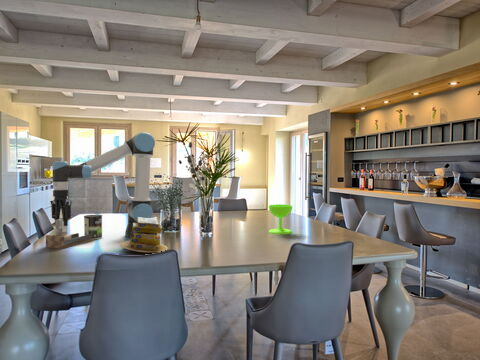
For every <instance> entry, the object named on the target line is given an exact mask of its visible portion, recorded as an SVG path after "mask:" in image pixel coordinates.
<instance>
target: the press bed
mask: <svg viewBox="0 0 480 360" xmlns="http://www.w3.org/2000/svg"><path fill="white" fill-rule="evenodd" d="M70 235H72V239H67V240H64V236H56V234H55V235H53V234H46V235H45V248H50V249H51V248H52V249H57V250H58V249H59V250H60V249H61V250H64V249H67V248H71V247H75V246H79V245H83V244H86V243H90V242H93V240H92V234H89V235H85V236H84V235H80V234H79V232H77V233H72V234H70Z"/></svg>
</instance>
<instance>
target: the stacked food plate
mask: <svg viewBox="0 0 480 360" xmlns="http://www.w3.org/2000/svg"><path fill="white" fill-rule="evenodd" d="M132 228H133V229H132V230H133V232H131V233H132V234H131V237H129V238H130V239H129V240H124V241H121V242H119V246H120V247H121V248H123V249H125V250H129V251H133V252H139V253H161V251H163V252H165V250H166V251H167V250H168V246H167V245H165V244H162V243H161V234H162V230H163V226H162V225H161V224H160V221H159V219H158V217H157V216H154V217H151V218H141V217H138V218H137V223H133V226H132ZM158 234H160V235H158Z"/></svg>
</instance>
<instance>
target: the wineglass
mask: <svg viewBox="0 0 480 360" xmlns="http://www.w3.org/2000/svg"><path fill="white" fill-rule="evenodd" d="M268 209H269V212H270V213H271V214H272V215H273V216H274V217H276V218H278V228H272V229H270V230H268V233H269V234H273V235H290V234H293V230H291V229H287V228H283V218H285V217H287V216H288V215H290V213H291V212H292V211H293V205H292V204H280V203H279V204H276V203H275V204H269V205H268Z"/></svg>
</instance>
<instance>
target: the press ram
mask: <svg viewBox="0 0 480 360" xmlns="http://www.w3.org/2000/svg"><path fill="white" fill-rule="evenodd" d="M62 220H63V218H61V219H57V220H55V219H54V225H55V224H56V225H55V235H56V236H64V240H67V239H72V235H71V234H68V231H67V232H62Z"/></svg>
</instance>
